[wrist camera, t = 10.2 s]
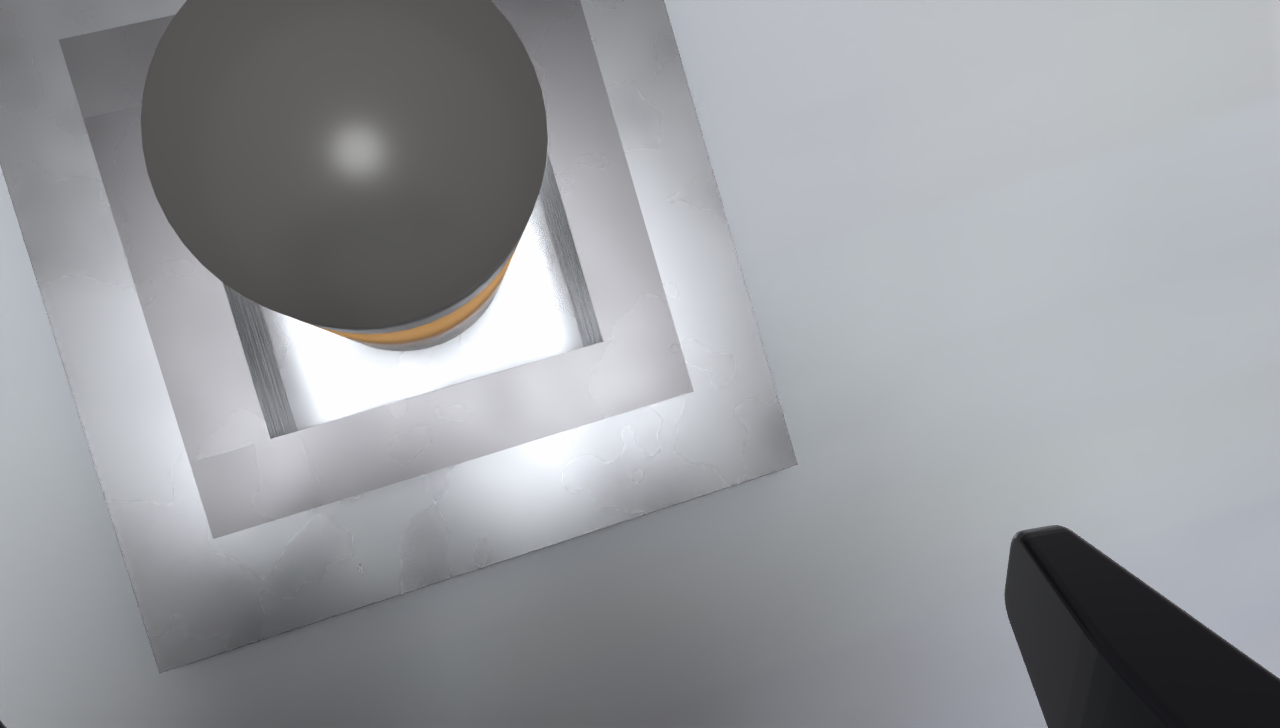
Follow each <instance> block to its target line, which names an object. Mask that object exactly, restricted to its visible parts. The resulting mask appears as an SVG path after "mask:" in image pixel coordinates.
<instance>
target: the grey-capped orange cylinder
mask: <svg viewBox="0 0 1280 728" xmlns="http://www.w3.org/2000/svg"><path fill="white" fill-rule="evenodd" d="M141 135H142V148H143V153H144V158H145V163H146V168H147V173H148V176H149V179H150V181H151V184H152V187H153V190H154V193H155V196H156V198H157V200H158V202H159V204H160V206H161V208H162V210H163V212H164V214H165V216H166V218H167V220H168V222H169V224H170V225H171V227H172V228H173V229H174V231H175V232H176V234H177V235H178V237H179V238H180V240H181V241H182V243H183V244H184V245H185V246H186V247H187V249H188V250H189V251H190V252H191V253H192V254H193V255H194V256H195V257H196V259H197V260H198V261H199V262H200V263H201V264H202V265H203V266H204V267H205V268H206V269H208V270H209V271H210V272H211V273H212V274H213V275H215V276H216V277H217V278H218V279H219V280H220V281H222V282H223V283H224V284H226V285H227V286H229V287H230V288H232V289H233V290H235V291H236V292H238V293H239V294H241V295H242V296H244V297H245V298H247V299H250V300H252V301H254V302H256V303H258V304H260V305H262V306H264V307H266V308H268V309H270V310H273V311H275V312H278V313H281V314H283V315H286V316H289V317H291V318H294V319H297V320H299V321H302V322H305V323H307V324H310V325H313V326H315V327H318V328H321V329H323V330H326V331H329V332H331V333H334V334H337V335H339V336H342V337H345V338H347V339H350V340H353V341H355V342H358V343H361V344H364V345H367V346H369V347H372V348H377V349H382V350H388V351H416V350H421V349H427V348H430V347H433V346H437V345H440V344H442V343H445V342H447V341H449V340H451V339H453V338H455V337H456V336H458V335H459V334H461V333H463V332H464V331H466V330H467V329H468V328H469V327H470V326H472V325H473V324H474V323H475V322H476V321H477V320H478V319H479V318H480V317H481V316H482V315H483V313H484V312H485V311H486V310H487V308H488V307H489V305H490V304H491V302H492V301H493V299H494V297H495V295H496V293H497V291H498V289H499V287H500V285H501V282H502V280H503V278H504V276H505V273H506V271H507V269H508V266H509V264H510V262H511V260H512V257H513V255H514V253H515V251H516V248H517V246H518V244H519V241H520V239H521V237H522V235H523V232H524V230H525V228H526V226H527V223H528V221H529V219H530V216H531V214H532V212H533V209H534V206H535V204H536V201H537V198H538V195H539V192H540V190H541V185H542V181H543V176H544V171H545V166H546V157H547V143H548V135H547V117H546V111H545V105H544V100H543V95H542V90H541V87H540V84H539V81H538V78H537V75H536V71H535V68H534V66H533V64H532V62H531V59H530V57H529V55H528V53H527V51H526V49H525V47H524V45H523V43H522V41H521V40H520V38H519V37H518V35H517V33H516V32H515V30H514V29H513V27H512V26H511V24H510V22H509V21H508V20H507V19H506V18H505V16H504V15H503V14H502V13H501V12H500V10H499V9H498V8H497V7H496V6H495V4H494V3H493V2H492V1H491V0H186V2H185V3H184V4H183V6H182V7H181V8H180V10H179V11H178V12H177V13H176V15H175V16H174V17H173V19H172V20H171V22H170V23H169V25H168V27H167V29H166V30H165V32H164V34H163V36H162V38H161V39H160V41H159V43H158V45H157V48H156V50H155V53H154V56H153V58H152V61H151V63H150V66H149V69H148V73H147V78H146V82H145V86H144V91H143V98H142V110H141Z"/></svg>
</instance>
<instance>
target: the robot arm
mask: <svg viewBox="0 0 1280 728" xmlns="http://www.w3.org/2000/svg"><path fill="white" fill-rule="evenodd" d="M1005 605H1006V610H1007V614H1008V618H1009V621H1010V624H1011V627H1012V629H1013V632H1014V635H1015V638H1016V640H1017V643H1018V646H1019V649H1020V651H1021V654H1022V657H1023V660H1024V663H1025V665H1026V668H1027V671H1028V674H1029V676H1030V679H1031V682H1032V685H1033V687H1034V690H1035V693H1036V696H1037V699H1038V701H1039V704H1040V707H1041V710H1042V712H1043V715H1044V718H1045V721H1046V723H1047V726H1048V728H1280V679H1279V678H1278V677H1276V676H1275V675H1273V674H1272V673H1271V672H1269V671H1268V670H1266V669H1265V668H1264V667H1262V666H1261V665H1259V664H1258V663H1257V662H1255V661H1254V660H1252V659H1251V658H1250V657H1248V656H1247V655H1245V654H1244V653H1243V652H1241V651H1240V650H1238V649H1237V648H1236V647H1234V646H1233V645H1231V644H1230V643H1229V642H1227V641H1226V640H1224V639H1223V638H1222V637H1220V636H1219V635H1217V634H1216V633H1214V632H1213V631H1212V630H1210V629H1209V628H1207V627H1206V626H1205V625H1203V624H1202V623H1200V622H1199V621H1198V620H1196V619H1195V618H1193V617H1192V616H1191V615H1189V614H1188V613H1186V612H1185V611H1184V610H1182V609H1181V608H1179V607H1178V606H1177V605H1175V604H1174V603H1172V602H1171V601H1170V600H1168V599H1167V598H1165V597H1164V596H1163V595H1161V594H1160V593H1158V592H1157V591H1155V590H1154V589H1153V588H1151V587H1150V586H1148V585H1147V584H1146V583H1144V582H1143V581H1141V580H1140V579H1139V578H1137V577H1136V576H1134V575H1133V574H1132V573H1130V572H1129V571H1127V570H1126V569H1125V568H1123V567H1122V566H1120V565H1119V564H1118V563H1116V562H1115V561H1113V560H1112V559H1111V558H1109V557H1108V556H1106V555H1105V554H1103V553H1102V552H1101V551H1099V550H1098V549H1096V548H1095V547H1094V546H1092V545H1091V544H1089V543H1088V542H1087V541H1085V540H1084V539H1082V538H1081V537H1080V536H1078V535H1077V534H1075V533H1074V532H1073V531H1071V530H1069V529H1068V528H1065V527H1063V526H1059V525H1052V526H1046V527H1040V528H1034V529H1028V530H1023V531H1020V532H1017V533H1016V534H1015V535H1014V537H1013V538H1012V542H1011V546H1010V554H1009V562H1008V569H1007V577H1006V585H1005ZM0 728H6V727H5V725H4V724H3V723H2V722H1V721H0Z"/></svg>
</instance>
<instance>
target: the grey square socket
mask: <svg viewBox="0 0 1280 728" xmlns="http://www.w3.org/2000/svg"><path fill="white" fill-rule="evenodd" d="M491 1H492V2H493V3H494V4H495V6H496V7H497V8H498V9H499V10H500V12H501V13H502V14H503V15H504V16H505V18H506V19H507V20H508V21H509V22H510V24H511V26H512V27H513V29H514V30H515V32H516V33H517V35H518V37H519V38H520V40H521V41H522V43H523V45H524V47H525V49H526V51H527V53H528V55H529V57H530V59H531V62H532V64H533V66H534V68H535V71H536V75H537V78H538V81H539V84H540V87H541V90H542V95H543V100H544V105H545V111H546V117H547V135H548V143H547V157H546V166H545V171H544V176H543V181H542V185H541V190H540V192H539V195H538V198H537V201H536V204H535V206H534V209H533V212H532V214H531V216H530V219H529V221H528V223H527V226H526V228H525V230H524V232H523V235H522V237H521V239H520V241H519V244H518V246H517V248H516V251H515V253H514V255H513V257H512V260H511V262H510V264H509V266H508V269H507V271H506V273H505V276H504V278H503V280H502V282H501V285H500V287H499V289H498V291H497V293H496V295H495V297H494V299H493V301H492V302H491V304H490V305H489V307H488V308H487V310H486V311H485V312H484V313H483V315H482V316H481V317H480V318H479V319H478V320H477V321H476V322H475V323H474V324H473V325H472V326H470V327H469V328H468V329H467V330H466V331H464V332H463V333H461V334H459V335H458V336H456V337H455V338H453V339H451V340H449V341H447V342H445V343H442V344H440V345H437V346H433V347H430V348H427V349H421V350H416V351H388V350H382V349H377V348H372V347H369V346H367V345H364V344H361V343H358V342H355V341H353V340H350V339H347V338H345V337H342V336H339V335H337V334H334V333H331V332H329V331H326V330H323V329H321V328H318V327H315V326H313V325H310V324H307V323H305V322H302V321H299V320H297V319H294V318H291V317H289V316H286V315H283V314H281V313H278V312H275V311H273V310H270V309H268V308H266V307H264V306H262V305H260V304H258V303H256V302H254V301H252V300H250V299H247V298H245V297H244V296H242V295H241V294H239V293H238V292H236V291H235V290H233V289H232V288H230V287H229V286H227V285H226V284H224V283H223V282H222V281H220V280H219V279H218V278H217V277H216V276H215V275H213V274H212V273H211V272H210V271H209V270H208V269H206V268H205V267H204V266H203V265H202V264H201V263H200V262H199V261H198V260H197V259H196V257H195V256H194V255H193V254H192V253H191V252H190V251H189V250H188V249H187V247H186V246H185V245H184V244H183V243H182V241H181V240H180V238H179V237H178V235H177V234H176V232H175V231H174V229H173V228H172V227H171V225H170V224H169V222H168V220H167V218H166V216H165V214H164V212H163V210H162V208H161V206H160V204H159V202H158V200H157V198H156V196H155V193H154V190H153V187H152V184H151V181H150V179H149V176H148V173H147V168H146V163H145V158H144V153H143V148H142V135H141V110H142V98H143V91H144V86H145V82H146V78H147V73H148V69H149V66H150V63H151V61H152V58H153V56H154V53H155V50H156V48H157V45H158V43H159V41H160V39H161V38H162V36H163V34H164V32H165V30H166V29H167V27H168V25H169V23H170V22H171V20H172V19H173V17H174V16H175V15H176V13H177V12H178V11H179V10H180V8H181V7H182V6H183V4H184V3H185V2H186V0H0V165H1V168H2V171H3V175H4V178H5V181H6V184H7V187H8V190H9V194H10V197H11V200H12V203H13V206H14V210H15V213H16V216H17V219H18V222H19V226H20V229H21V232H22V235H23V238H24V242H25V245H26V248H27V251H28V254H29V258H30V261H31V264H32V267H33V270H34V274H35V277H36V280H37V283H38V286H39V290H40V293H41V296H42V299H43V302H44V306H45V309H46V312H47V315H48V318H49V321H50V325H51V328H52V331H53V334H54V337H55V341H56V344H57V347H58V350H59V353H60V357H61V360H62V363H63V366H64V369H65V373H66V376H67V379H68V382H69V385H70V389H71V392H72V395H73V398H74V401H75V405H76V408H77V411H78V414H79V417H80V421H81V424H82V427H83V430H84V433H85V437H86V440H87V443H88V446H89V449H90V452H91V456H92V459H93V462H94V465H95V468H96V472H97V475H98V478H99V481H100V484H101V488H102V491H103V494H104V497H105V500H106V504H107V507H108V510H109V513H110V516H111V520H112V523H113V526H114V529H115V532H116V536H117V539H118V542H119V545H120V548H121V552H122V555H123V558H124V561H125V564H126V567H127V571H128V574H129V577H130V580H131V583H132V587H133V590H134V593H135V596H136V599H137V603H138V606H139V609H140V612H141V615H142V619H143V622H144V625H145V628H146V631H147V635H148V638H149V641H150V644H151V647H152V651H153V654H154V657H155V660H156V663H157V667H158V670H159V673H162V672H165V671H168V670H171V669H174V668H177V667H180V666H183V665H187V664H190V663H193V662H196V661H199V660H202V659H205V658H208V657H211V656H214V655H217V654H220V653H223V652H226V651H229V650H232V649H235V648H238V647H242V646H245V645H248V644H251V643H254V642H257V641H260V640H263V639H266V638H269V637H272V636H275V635H278V634H281V633H284V632H287V631H290V630H293V629H297V628H300V627H303V626H306V625H309V624H312V623H315V622H318V621H321V620H324V619H327V618H330V617H333V616H336V615H339V614H342V613H345V612H349V611H352V610H355V609H358V608H361V607H364V606H367V605H370V604H373V603H376V602H379V601H382V600H385V599H388V598H391V597H394V596H397V595H400V594H404V593H407V592H410V591H413V590H416V589H419V588H422V587H425V586H428V585H431V584H434V583H437V582H440V581H443V580H446V579H449V578H452V577H455V576H459V575H462V574H465V573H468V572H471V571H474V570H477V569H480V568H483V567H486V566H489V565H492V564H495V563H498V562H501V561H504V560H507V559H510V558H514V557H517V556H520V555H523V554H526V553H529V552H532V551H535V550H538V549H541V548H544V547H547V546H550V545H553V544H556V543H559V542H562V541H565V540H569V539H572V538H575V537H578V536H581V535H584V534H587V533H590V532H593V531H596V530H599V529H602V528H605V527H608V526H611V525H614V524H617V523H621V522H624V521H627V520H630V519H633V518H636V517H639V516H642V515H645V514H648V513H651V512H654V511H657V510H660V509H663V508H666V507H669V506H672V505H676V504H679V503H682V502H685V501H688V500H691V499H694V498H697V497H700V496H703V495H706V494H709V493H712V492H715V491H718V490H721V489H724V488H727V487H731V486H734V485H737V484H740V483H743V482H746V481H749V480H752V479H755V478H758V477H761V476H764V475H767V474H770V473H773V472H776V471H779V470H782V469H786V468H789V467H792V466H795V465H797V461H796V458H795V454H794V451H793V447H792V444H791V440H790V437H789V434H788V430H787V427H786V423H785V420H784V416H783V413H782V409H781V406H780V402H779V399H778V395H777V392H776V388H775V385H774V381H773V378H772V374H771V371H770V367H769V364H768V360H767V357H766V354H765V350H764V347H763V343H762V340H761V336H760V333H759V329H758V326H757V322H756V319H755V315H754V312H753V308H752V305H751V301H750V298H749V294H748V291H747V287H746V284H745V280H744V277H743V274H742V270H741V267H740V263H739V260H738V256H737V253H736V249H735V246H734V242H733V239H732V235H731V232H730V228H729V225H728V221H727V218H726V214H725V211H724V207H723V204H722V200H721V197H720V194H719V190H718V187H717V183H716V180H715V176H714V173H713V169H712V166H711V162H710V159H709V155H708V152H707V148H706V145H705V141H704V138H703V134H702V131H701V127H700V124H699V120H698V117H697V114H696V110H695V107H694V103H693V100H692V96H691V93H690V89H689V86H688V82H687V79H686V75H685V72H684V68H683V65H682V61H681V58H680V54H679V51H678V47H677V44H676V40H675V37H674V34H673V30H672V27H671V23H670V20H669V16H668V13H667V9H666V6H665V2H664V0H491Z"/></svg>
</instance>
